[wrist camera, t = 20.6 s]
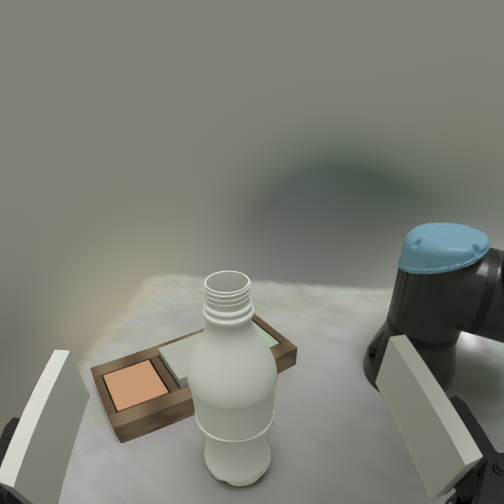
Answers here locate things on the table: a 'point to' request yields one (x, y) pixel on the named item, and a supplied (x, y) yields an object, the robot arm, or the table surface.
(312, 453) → the table surface
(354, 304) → the table surface
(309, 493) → the table surface
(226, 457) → the water bottle
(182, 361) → the key middle
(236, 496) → the table surface
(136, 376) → the orange square block
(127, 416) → the keypad
